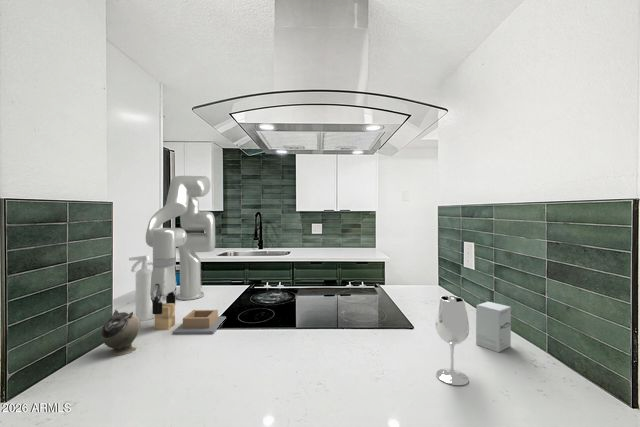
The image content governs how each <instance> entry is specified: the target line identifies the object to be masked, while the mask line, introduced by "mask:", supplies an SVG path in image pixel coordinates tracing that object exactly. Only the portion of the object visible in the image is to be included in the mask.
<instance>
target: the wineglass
mask: <svg viewBox="0 0 640 427" xmlns="http://www.w3.org/2000/svg"><path fill="white" fill-rule="evenodd" d="M468 317H469V316H468V311H467V307H466V302H465V300H464V298H462V297H459V296H455V295H454V296H453V295H442V296H440V299H439V302H438V306H437V311H436V316H435V330H436V333H437V335H438V336H439V338H441V340H443V341H444V342H445V343H446V344H449V349H450V367H449V368H441V369H438V370H437V371H436V373H435V375H436V377H437V378H438V380H440V381H441V382H442V383H446V384H448V385H452V386H464V385H467V384H468V383H469V377H468V376H467V375H466V374H465V373H463V372H461V371H459V370H457V369H455V368H454V362H455V359H454V357H455V356H454V354H455V352H454V350H455V346H456V345H460V344H463V342H465V341H466V339H467V338H468V336H469V333H470V324H469V323H470V322H469V318H468Z"/></svg>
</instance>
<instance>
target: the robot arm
mask: <svg viewBox="0 0 640 427" xmlns="http://www.w3.org/2000/svg"><path fill="white" fill-rule="evenodd" d="M168 188H169V189H168V192H167V193H168V194H167V198H166V201H165V205H164V206H163V207H161V208H160V209H158V210H157V211H156V212H155V213H154V214H153V215H152V216H151V217H150V219H149V221H148V224H147V228H146V233H145V243H146V245H147V246H148V247H150V248H152V263H153V265H152V269H153V270H152V275H151V288H150V296H151V300H152V303H153V314H162V303H163V302H162V301H163V297H164V296H165V300H166V301H165V303H175V304H176V299H177V300H180V301H189V300H190V301H192V300H197V299H200V298H203V297H204V296H205V293H204V292H203V291H202V290H201V289H202V288H203V286H202V283H201V280H202V279H201V275H202V274H201V270H202V269H201V263H202V262H201V259H200V257H199V256H198V254H197V253H208V252H209V253H210V252H213V251H214V250H215V248H216V218H215V215H214V213H213V212H212V211H207V210H205V211H204V210H203V211H202V210H201V211H200V207H199V206H200V203H199V199H198V198H202V197H205V196H206V195H208V194H209V192H210V191H211V190H210V189H211V180H210V179H209V177H207V176H206V175H205V176H204V175H203V176H202V175H177V176H176V175H175V176H173V177H172V178H171V180H170V184H169V187H168ZM177 217H179V219H180V226H181V227H161V226H162V224H164V223H166V222H167V221H170V220H172V219H175V218H177ZM186 231H204V232H186ZM177 248H178V253H179V254H178V255H179V294H177V292H176V290H177V284H178V282H177V281H176V279H177V278H176V266H177V264H176V263H177V260H176V259H177V254H176V253H177V250H176V249H177Z"/></svg>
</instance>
